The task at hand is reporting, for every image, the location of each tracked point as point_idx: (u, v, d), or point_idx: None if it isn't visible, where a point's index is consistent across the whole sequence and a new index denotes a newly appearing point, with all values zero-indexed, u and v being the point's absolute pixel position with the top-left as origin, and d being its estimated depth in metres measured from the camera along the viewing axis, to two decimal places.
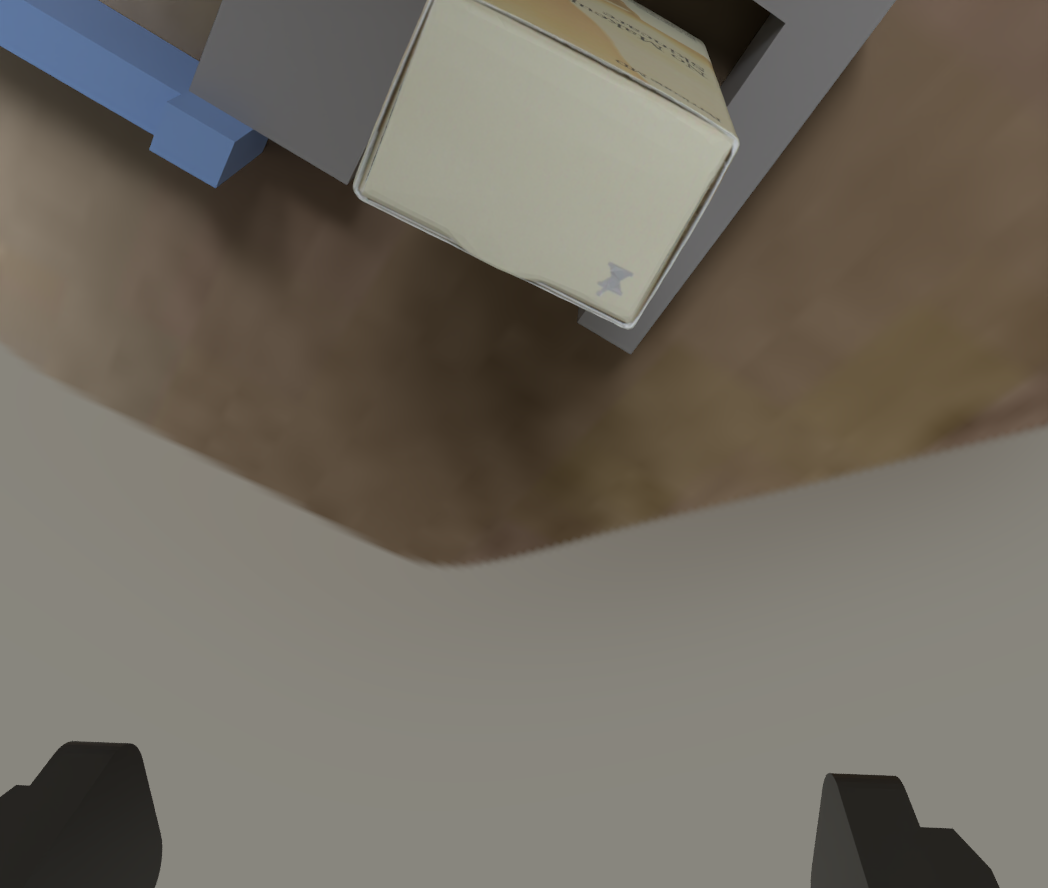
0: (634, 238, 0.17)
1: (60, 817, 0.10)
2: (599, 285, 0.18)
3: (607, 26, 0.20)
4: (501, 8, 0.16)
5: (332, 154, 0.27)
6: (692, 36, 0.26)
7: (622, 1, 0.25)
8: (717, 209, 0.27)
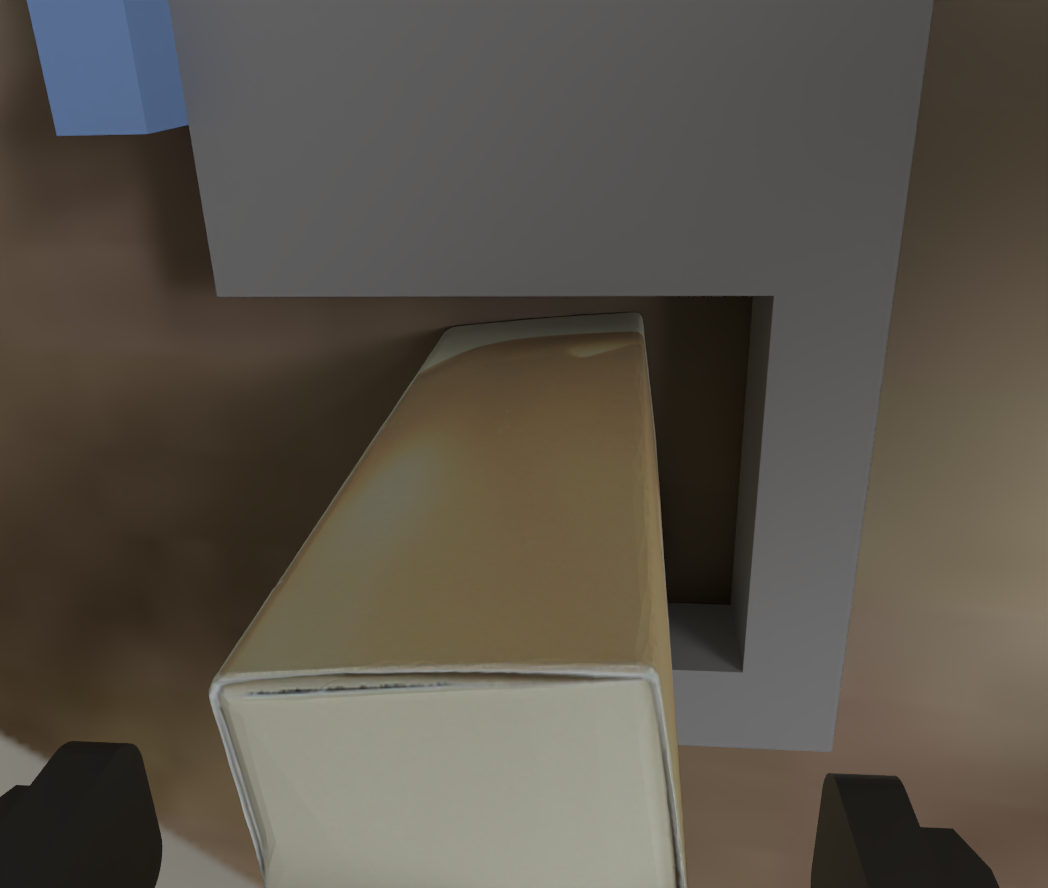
0: None
1: (60, 817, 0.10)
2: None
3: None
4: (672, 768, 0.09)
5: (241, 256, 0.17)
6: None
7: (659, 492, 0.19)
8: None
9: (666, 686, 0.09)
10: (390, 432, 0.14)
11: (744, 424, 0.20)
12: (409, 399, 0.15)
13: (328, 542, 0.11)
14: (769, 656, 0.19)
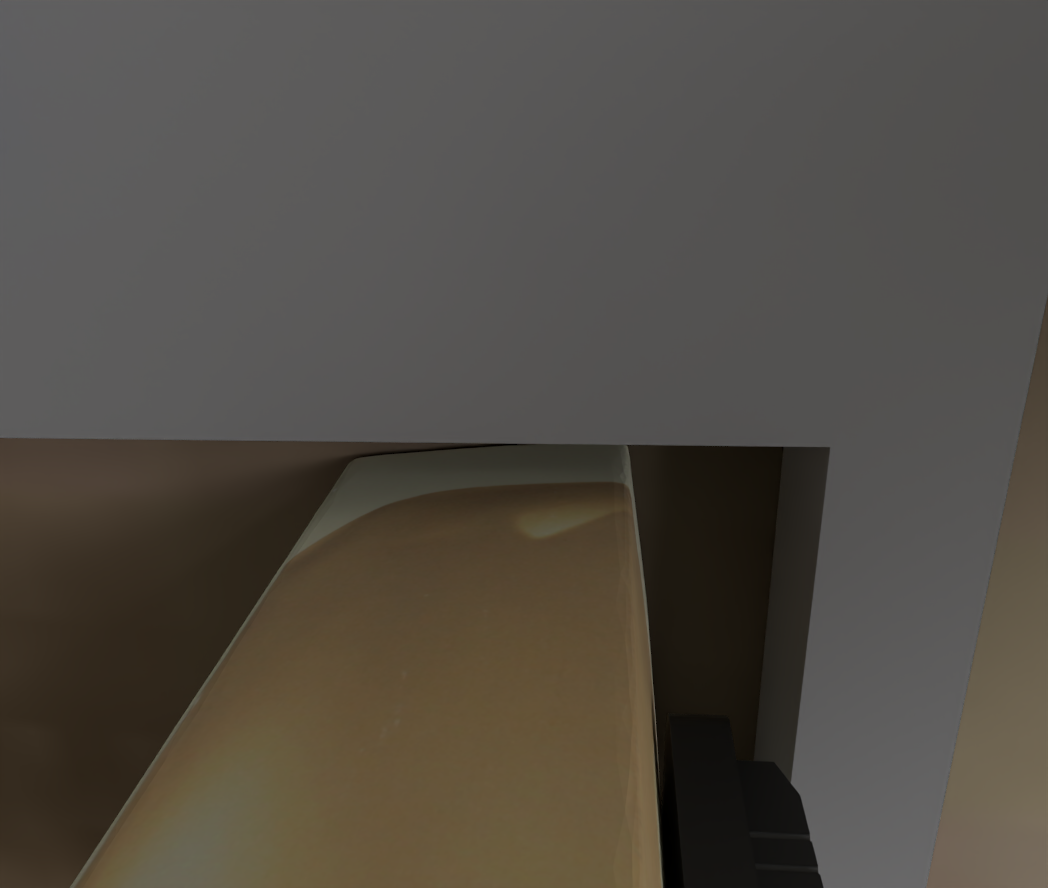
0: None
1: None
2: None
3: None
4: None
5: (17, 380, 0.11)
6: None
7: None
8: None
9: None
10: (201, 718, 0.08)
11: (771, 591, 0.14)
12: (256, 628, 0.10)
13: None
14: None
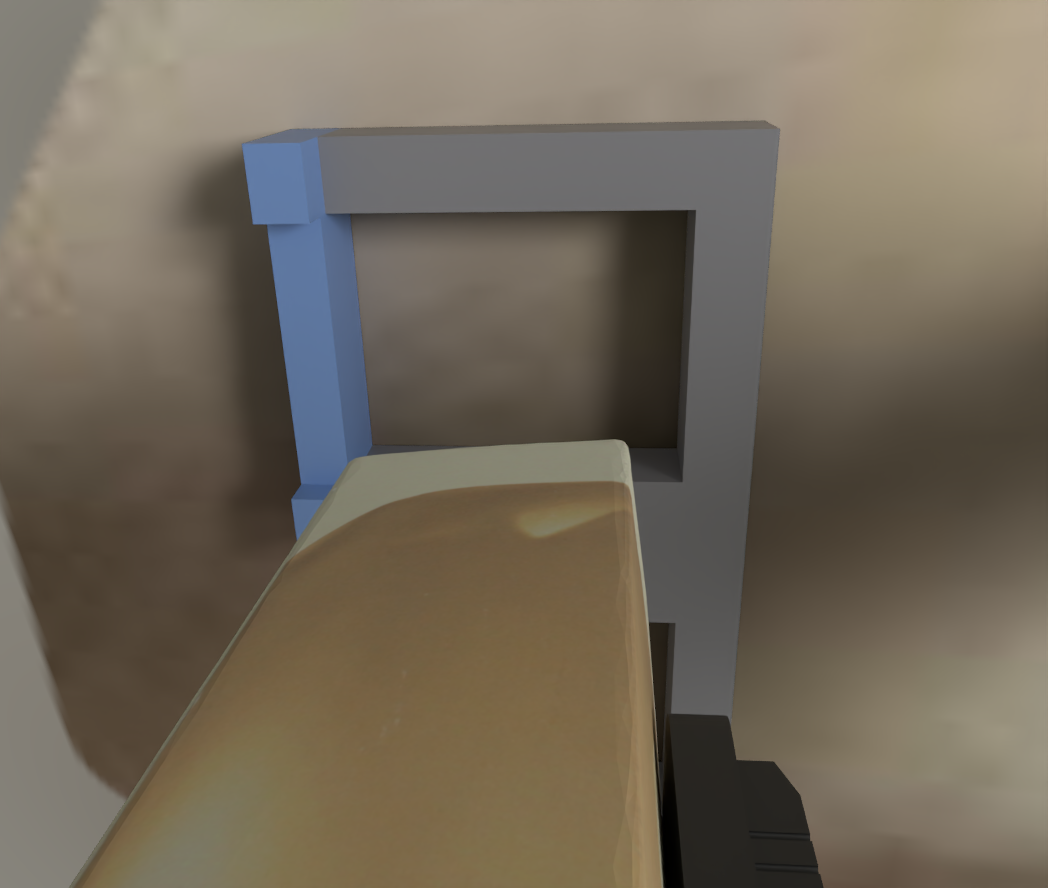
0: None
1: None
2: None
3: None
4: None
5: None
6: None
7: None
8: None
9: None
10: (202, 717, 0.08)
11: (667, 664, 0.33)
12: (257, 627, 0.10)
13: None
14: None
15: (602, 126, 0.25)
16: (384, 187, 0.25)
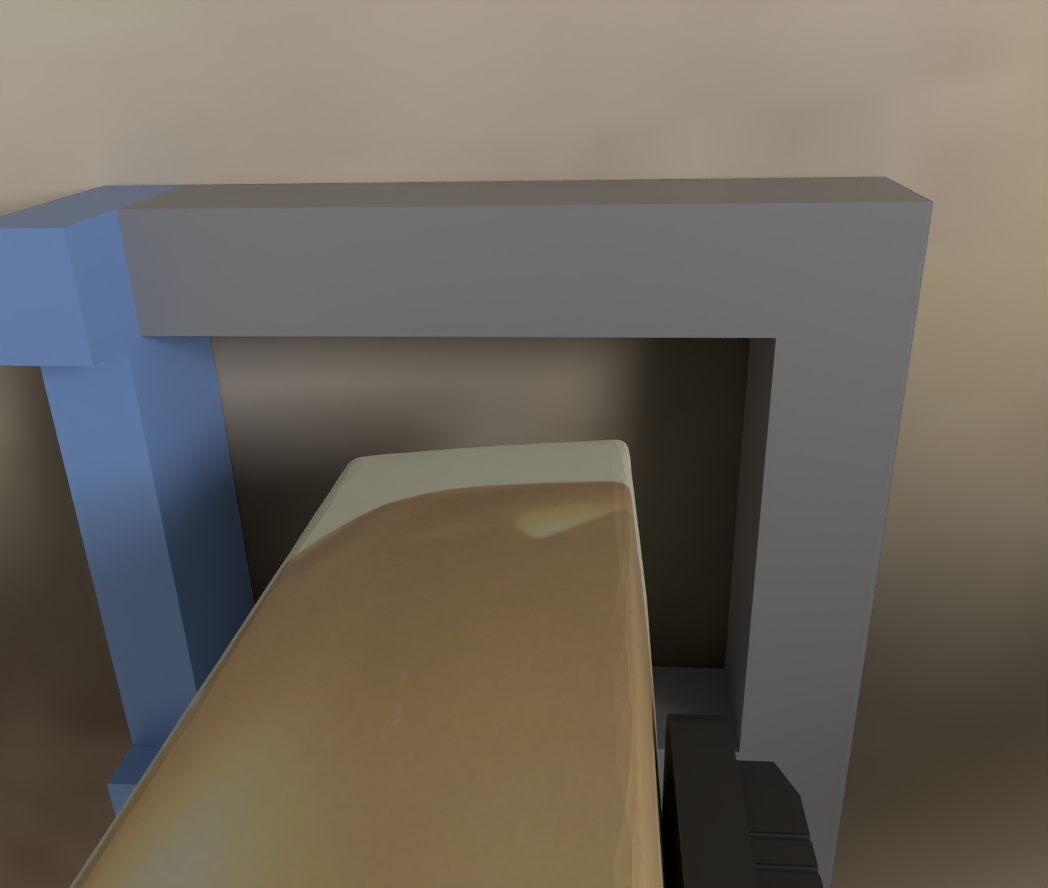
0: None
1: None
2: None
3: None
4: None
5: None
6: None
7: None
8: None
9: None
10: (202, 717, 0.08)
11: None
12: (257, 627, 0.10)
13: None
14: None
15: (612, 188, 0.15)
16: (237, 294, 0.15)
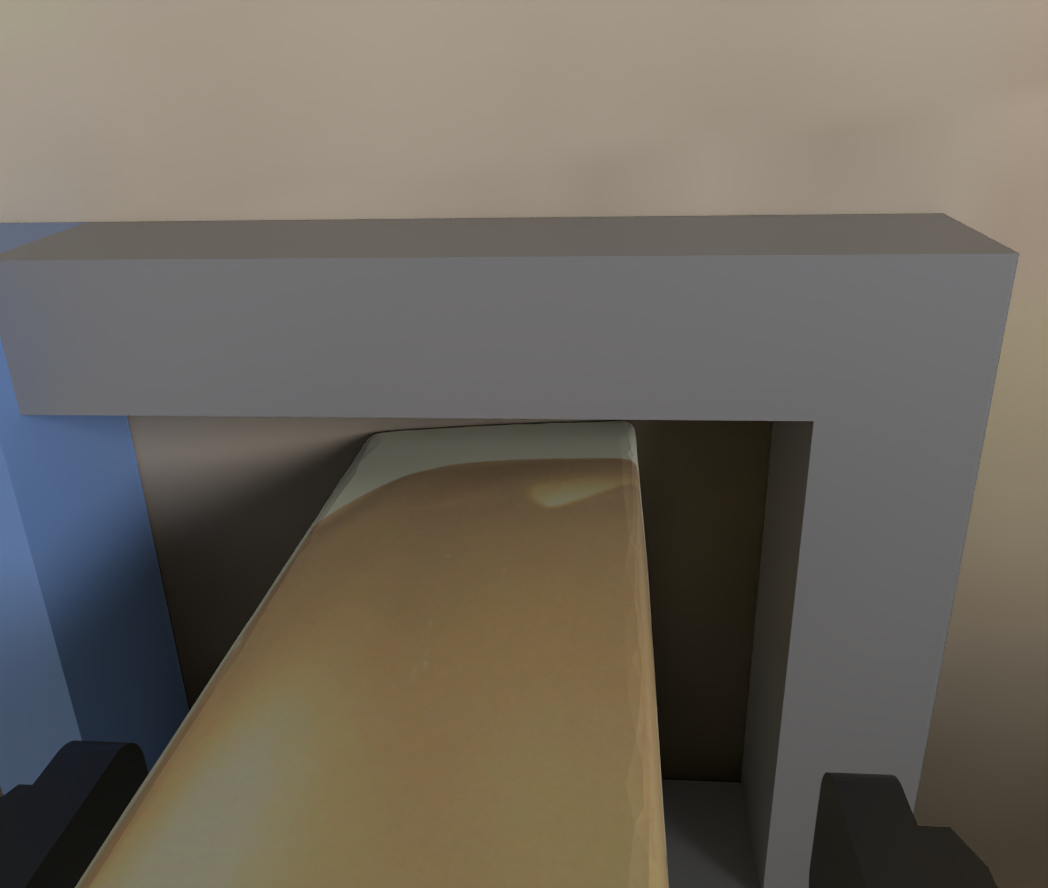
0: None
1: (63, 816, 0.10)
2: None
3: None
4: None
5: None
6: None
7: None
8: None
9: None
10: (243, 658, 0.09)
11: None
12: (289, 582, 0.10)
13: None
14: None
15: (606, 229, 0.12)
16: (137, 366, 0.12)
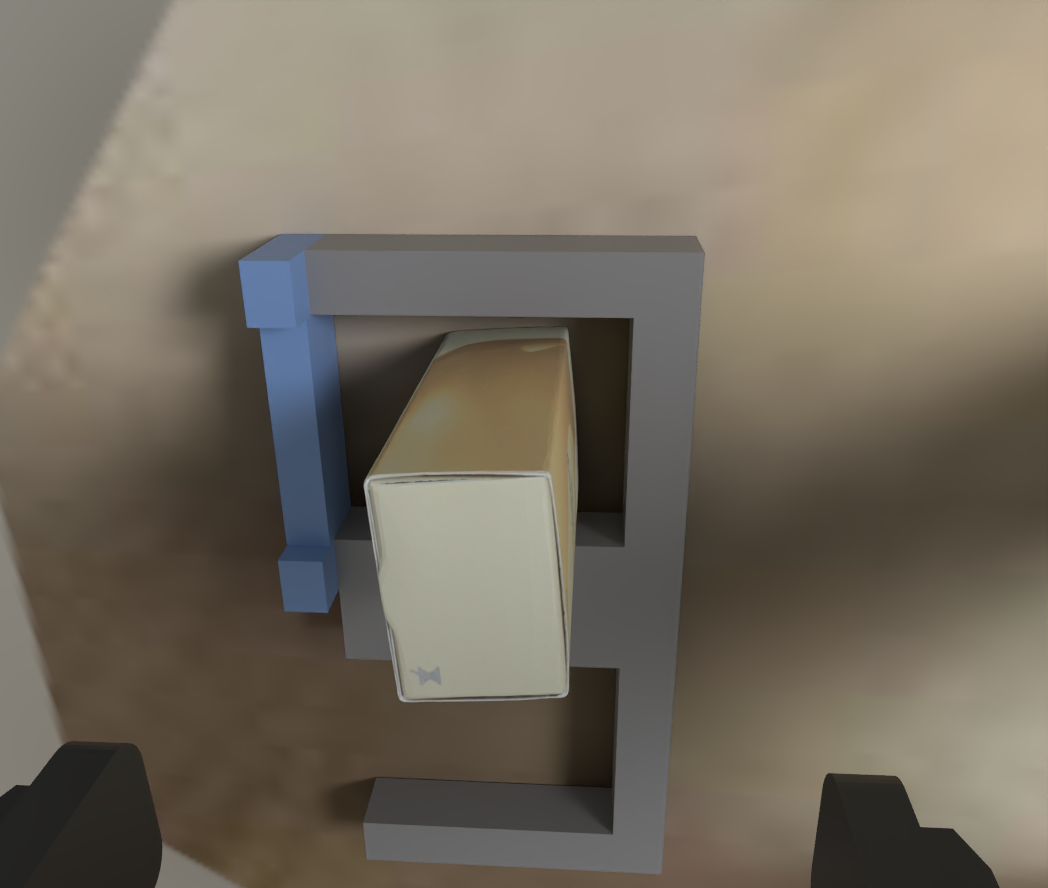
0: (465, 673, 0.22)
1: (60, 817, 0.10)
2: (417, 668, 0.22)
3: (569, 509, 0.25)
4: (556, 518, 0.21)
5: (360, 642, 0.34)
6: None
7: (575, 435, 0.31)
8: (491, 856, 0.38)
9: (557, 491, 0.21)
10: (423, 387, 0.26)
11: (615, 701, 0.37)
12: (431, 372, 0.27)
13: (403, 432, 0.23)
14: (626, 826, 0.36)
15: (554, 241, 0.29)
16: (362, 293, 0.29)
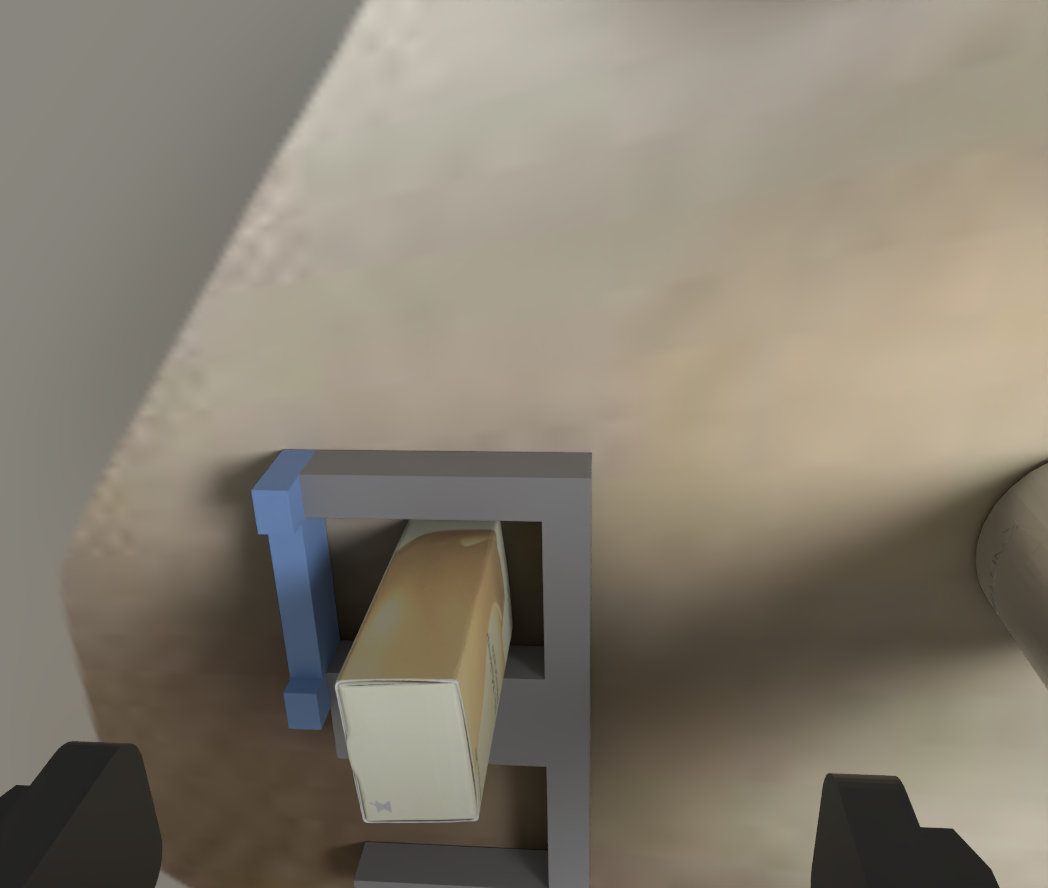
0: (407, 805, 0.32)
1: (60, 817, 0.10)
2: (375, 802, 0.32)
3: (487, 677, 0.35)
4: (464, 708, 0.31)
5: None
6: (511, 625, 0.43)
7: (504, 598, 0.41)
8: None
9: (466, 685, 0.31)
10: (384, 586, 0.36)
11: None
12: (392, 568, 0.37)
13: (364, 636, 0.33)
14: (558, 884, 0.47)
15: (484, 460, 0.39)
16: (342, 503, 0.39)
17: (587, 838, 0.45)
